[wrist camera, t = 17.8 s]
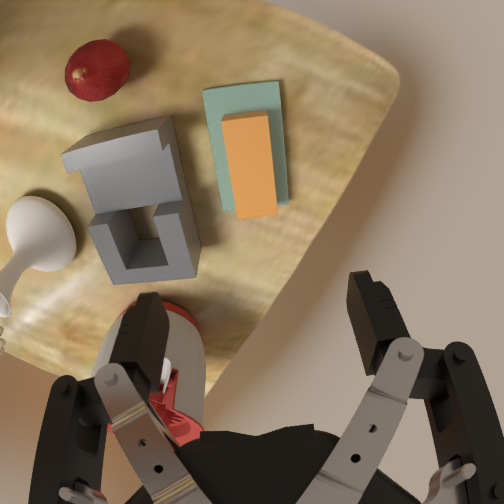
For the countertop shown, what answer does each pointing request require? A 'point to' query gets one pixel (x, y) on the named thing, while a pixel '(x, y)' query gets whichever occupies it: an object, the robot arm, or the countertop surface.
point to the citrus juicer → (173, 374)
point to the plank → (250, 163)
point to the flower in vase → (34, 244)
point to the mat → (240, 102)
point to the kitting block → (138, 201)
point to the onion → (97, 70)
